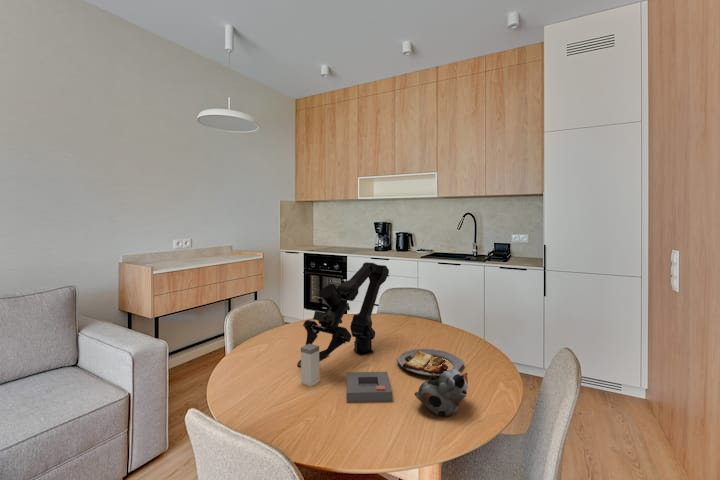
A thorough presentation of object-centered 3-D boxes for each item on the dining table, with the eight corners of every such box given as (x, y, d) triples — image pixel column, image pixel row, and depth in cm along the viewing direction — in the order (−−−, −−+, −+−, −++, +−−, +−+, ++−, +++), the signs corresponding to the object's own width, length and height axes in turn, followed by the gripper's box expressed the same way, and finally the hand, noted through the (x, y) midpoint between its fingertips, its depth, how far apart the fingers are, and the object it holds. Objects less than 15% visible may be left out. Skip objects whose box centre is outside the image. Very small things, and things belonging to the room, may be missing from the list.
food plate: (449, 386, 114) (449, 376, 113) (387, 371, 126) (387, 361, 126) (469, 362, 135) (469, 353, 135) (414, 351, 147) (414, 342, 147)
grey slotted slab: (346, 380, 118) (346, 370, 118) (387, 380, 119) (387, 369, 118) (346, 402, 104) (346, 390, 104) (392, 401, 105) (392, 390, 104)
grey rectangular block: (309, 378, 120) (309, 343, 119) (319, 381, 118) (319, 346, 117) (301, 383, 116) (300, 347, 116) (310, 386, 114) (310, 350, 113)
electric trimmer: (331, 357, 140) (331, 349, 140) (303, 369, 128) (303, 361, 127) (325, 354, 142) (325, 347, 142) (296, 366, 130) (296, 358, 130)
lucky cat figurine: (426, 390, 111) (448, 354, 110) (458, 417, 104) (481, 378, 103) (406, 395, 99) (430, 355, 98) (440, 427, 92) (467, 383, 91)
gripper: (306, 298, 128) (284, 335, 119) (346, 305, 117) (326, 346, 109) (320, 314, 135) (300, 350, 126) (359, 322, 124) (341, 362, 116)
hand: (315, 352), depth 119 cm, fingers open, 9 cm apart
